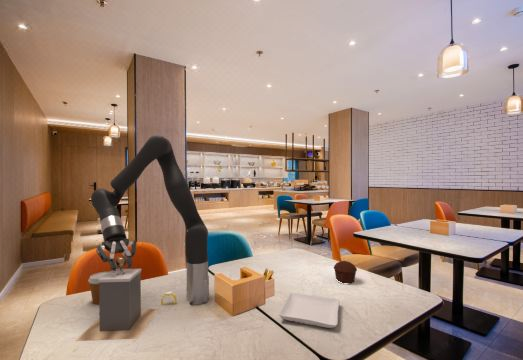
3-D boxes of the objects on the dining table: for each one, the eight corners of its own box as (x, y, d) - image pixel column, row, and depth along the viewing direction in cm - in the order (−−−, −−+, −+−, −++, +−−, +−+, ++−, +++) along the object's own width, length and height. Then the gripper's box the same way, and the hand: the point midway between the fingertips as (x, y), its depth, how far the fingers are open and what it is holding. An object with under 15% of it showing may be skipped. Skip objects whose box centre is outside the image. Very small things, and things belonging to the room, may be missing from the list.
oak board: (158, 311, 107) (158, 308, 107) (138, 341, 87) (138, 338, 87) (107, 312, 106) (107, 310, 106) (75, 343, 86) (75, 340, 86)
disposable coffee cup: (102, 309, 109) (102, 280, 109) (82, 307, 111) (82, 278, 111) (119, 299, 118) (119, 272, 118) (100, 297, 120) (100, 270, 120)
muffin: (359, 279, 140) (359, 261, 140) (354, 287, 130) (354, 266, 130) (336, 275, 146) (336, 257, 146) (330, 282, 137) (330, 262, 137)
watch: (176, 305, 113) (177, 291, 113) (175, 308, 110) (176, 293, 110) (161, 305, 112) (162, 291, 112) (160, 308, 110) (161, 293, 110)
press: (141, 315, 102) (141, 268, 102) (129, 330, 92) (129, 278, 92) (110, 316, 101) (109, 269, 101) (94, 331, 91) (94, 279, 91)
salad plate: (339, 306, 111) (339, 298, 111) (337, 334, 91) (337, 324, 91) (290, 299, 118) (290, 291, 118) (277, 324, 98) (277, 314, 98)
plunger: (134, 309, 100) (134, 254, 100) (126, 318, 93) (126, 260, 93) (116, 309, 100) (115, 255, 100) (106, 319, 93) (106, 260, 93)
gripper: (93, 226, 97) (101, 267, 88) (134, 222, 107) (145, 258, 98) (90, 238, 101) (98, 278, 92) (130, 233, 111) (140, 269, 102)
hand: (122, 268), depth 95 cm, fingers open, 4 cm apart
